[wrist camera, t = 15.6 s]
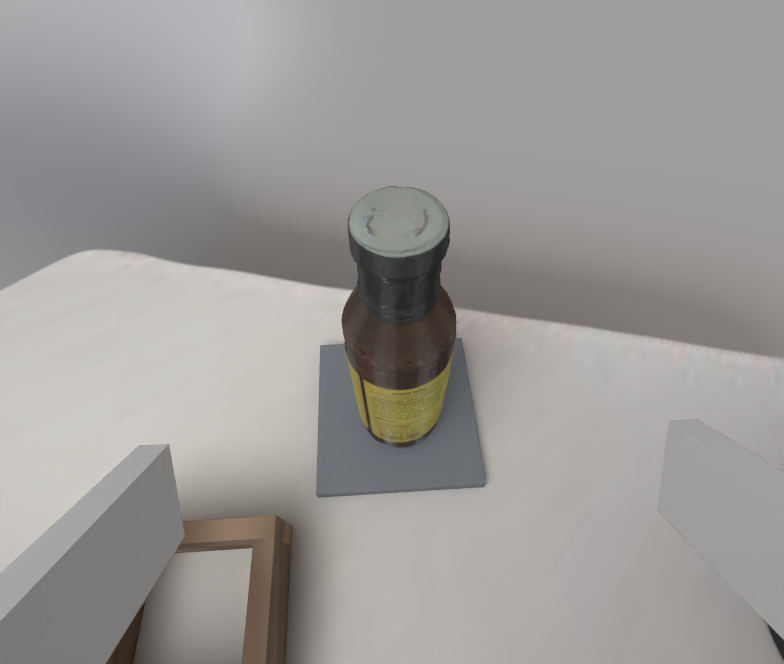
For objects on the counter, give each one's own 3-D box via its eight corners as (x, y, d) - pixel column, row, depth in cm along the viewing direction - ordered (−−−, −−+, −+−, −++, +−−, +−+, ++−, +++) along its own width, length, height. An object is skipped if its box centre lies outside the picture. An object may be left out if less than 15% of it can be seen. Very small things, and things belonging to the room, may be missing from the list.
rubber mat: (459, 344, 38) (461, 338, 37) (483, 486, 32) (485, 483, 31) (321, 351, 37) (320, 345, 37) (318, 497, 31) (316, 494, 30)
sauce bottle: (455, 410, 34) (523, 223, 17) (398, 468, 31) (409, 321, 14) (397, 358, 36) (403, 147, 19) (340, 408, 34) (289, 220, 17)
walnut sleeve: (291, 526, 30) (275, 515, 26) (281, 722, 25) (259, 749, 21) (140, 536, 30) (98, 527, 26) (96, 737, 25) (34, 769, 20)
